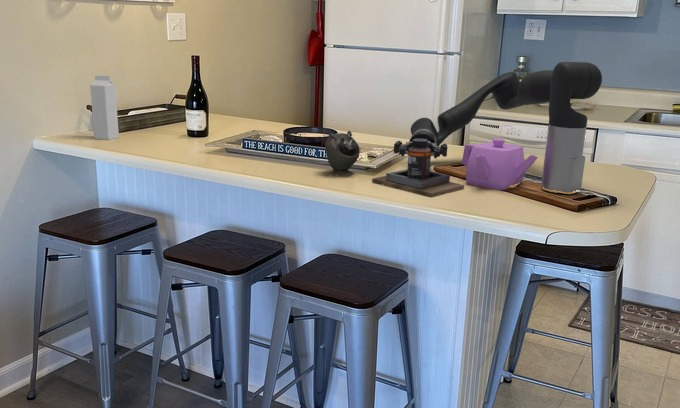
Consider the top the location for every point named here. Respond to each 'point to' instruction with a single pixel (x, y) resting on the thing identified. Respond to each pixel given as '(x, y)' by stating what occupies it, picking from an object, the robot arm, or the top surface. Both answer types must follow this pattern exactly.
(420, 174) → the supplement bottle
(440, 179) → the socket collar
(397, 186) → the dock board
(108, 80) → the milk
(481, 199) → the top surface
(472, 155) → the teakettle
